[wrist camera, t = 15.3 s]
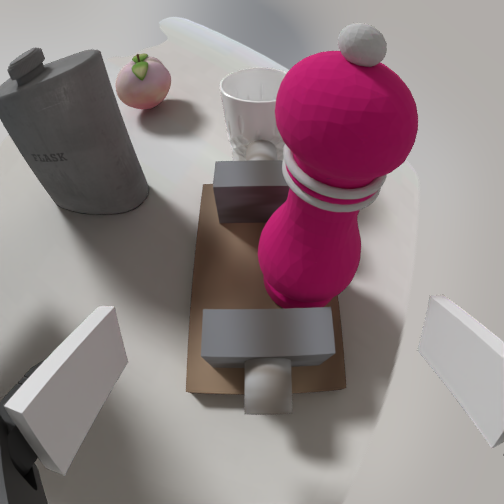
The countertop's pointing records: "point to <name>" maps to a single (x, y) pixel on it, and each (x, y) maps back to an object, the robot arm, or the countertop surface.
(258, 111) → the white cup
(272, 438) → the countertop surface
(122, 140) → the flask
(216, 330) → the block
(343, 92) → the pepper mill
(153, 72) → the decorative fruit
